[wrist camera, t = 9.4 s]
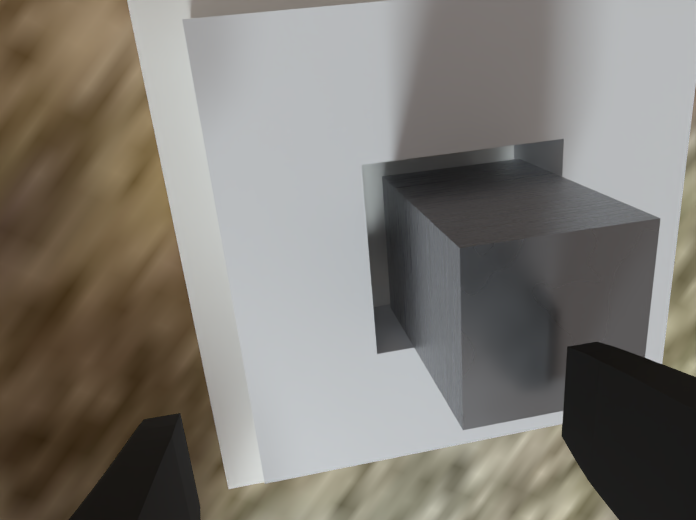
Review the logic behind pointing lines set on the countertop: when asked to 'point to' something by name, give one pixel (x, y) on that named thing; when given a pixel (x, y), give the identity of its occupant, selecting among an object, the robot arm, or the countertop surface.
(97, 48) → the countertop surface
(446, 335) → the grey tall block
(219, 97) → the bracket board
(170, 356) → the countertop surface
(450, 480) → the countertop surface
